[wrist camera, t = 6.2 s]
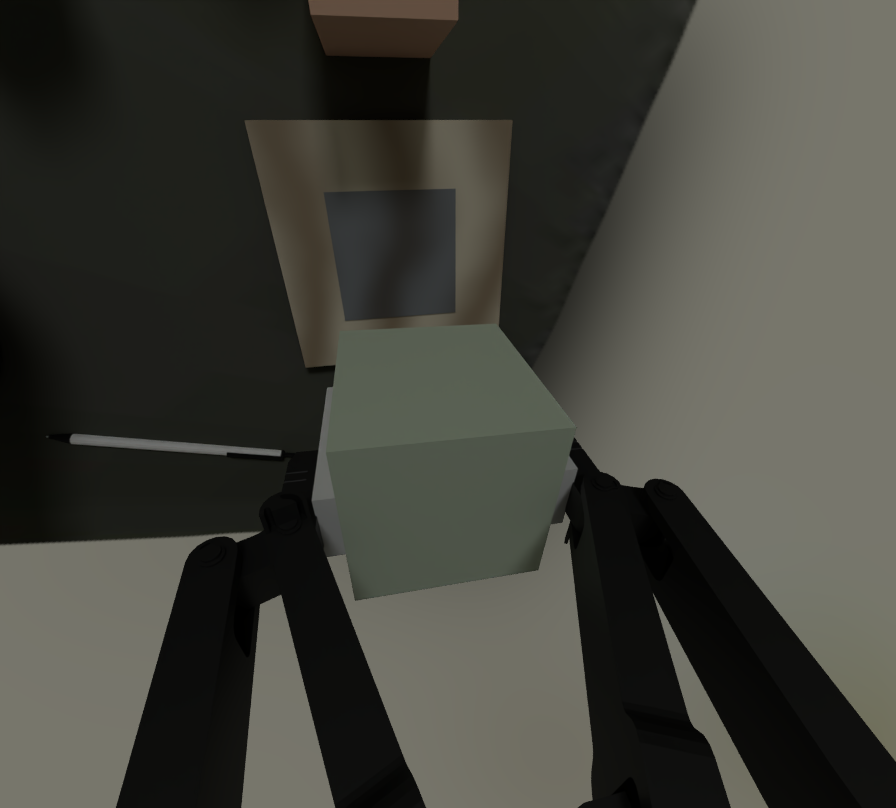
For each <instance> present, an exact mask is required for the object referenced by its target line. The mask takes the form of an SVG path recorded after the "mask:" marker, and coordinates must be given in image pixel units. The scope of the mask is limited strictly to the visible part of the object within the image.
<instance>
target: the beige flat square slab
mask: <svg viewBox="0 0 896 808" xmlns="http://www.w3.org/2000/svg"><path fill="white" fill-rule="evenodd" d="M245 125H246V129H247V133H248V137H249V141H250V145H251V149H252V153H253V157H254V161H255V165H256V169H257V173H258V177H259V181H260V185H261V189H262V193H263V197H264V201H265V205H266V209H267V213H268V217H269V221H270V225H271V229H272V234H273V238H274V242H275V246H276V250H277V254H278V258H279V262H280V266H281V270H282V274H283V278H284V282H285V286H286V290H287V294H288V298H289V302H290V306H291V310H292V314H293V318H294V322H295V326H296V330H297V334H298V338H299V343H300V347H301V351H302V355H303V359H304V363H305V367H306V368H307V367H318V366H329V365H336V358H337V350H338V341H339V332H340V331H350V330H371V329H392V328H414V327H435V326H456V325H477V324H497V325H498V327H499V312H500V297H501V282H502V268H503V253H504V238H505V223H506V209H507V194H508V179H509V164H510V150H511V135H512V120H245Z"/></svg>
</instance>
